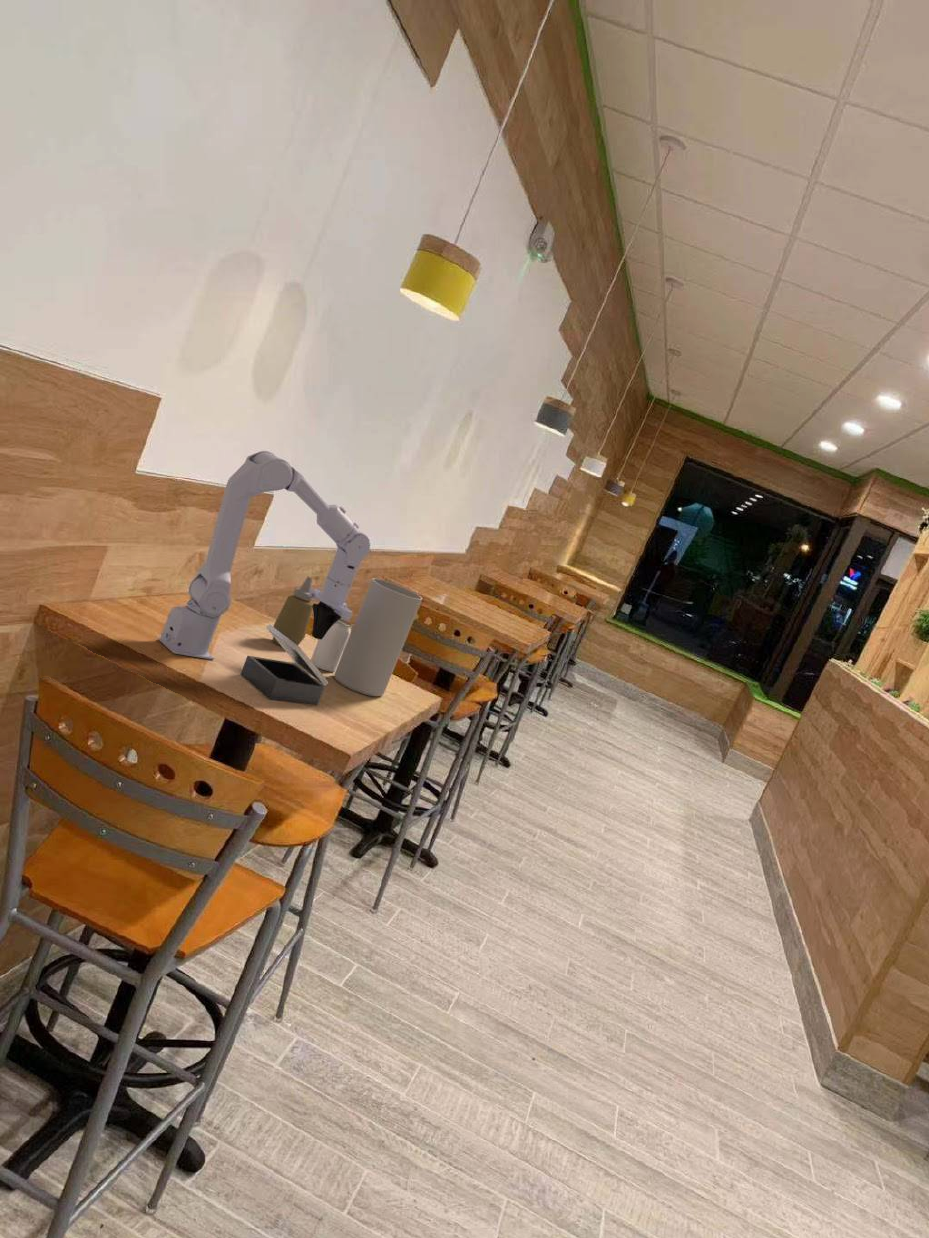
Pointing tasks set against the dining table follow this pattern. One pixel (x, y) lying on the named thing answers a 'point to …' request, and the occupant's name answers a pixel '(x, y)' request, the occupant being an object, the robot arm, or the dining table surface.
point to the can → (331, 646)
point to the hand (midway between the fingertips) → (316, 637)
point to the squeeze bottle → (296, 614)
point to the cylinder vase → (377, 637)
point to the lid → (297, 654)
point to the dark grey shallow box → (282, 681)
